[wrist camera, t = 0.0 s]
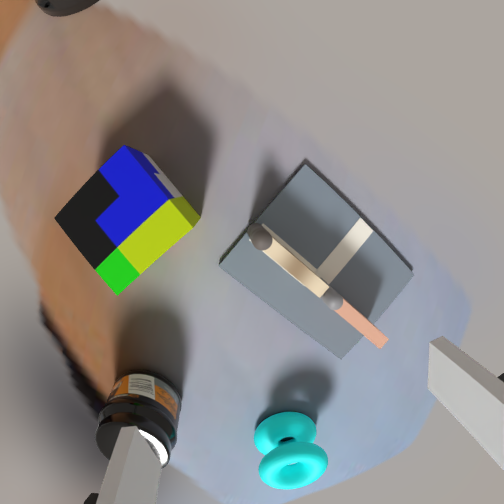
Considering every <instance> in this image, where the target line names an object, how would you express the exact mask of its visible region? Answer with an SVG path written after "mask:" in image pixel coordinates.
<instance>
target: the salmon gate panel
mask: <svg viewBox="0 0 504 504" xmlns="http://www.w3.org/2000/svg"><path fill="white" fill-rule="evenodd" d="M321 279H322V278H321ZM322 280H323V281H324V282H325V283H326V284H327V285H328V286H329V288H328V289H327V290H326V291H325V293H324V294H323V295H322V296H321V297H320V298H321V299H322V300H323V301H324V303H325V304H326V305H327V306H328V307H329V308H330V309H331V310H334V311H335V312H336V313H338V314H339V315H340V316H341V317H342V318H344V319H345V320H346V321H347V322H348V323H350V324H351V325H352V326H353V327H354V328H356V329H357V330H358V331H359V332H360V333H362V334H363V335H364V336H365V337H366V338H368V339H369V340H370V341H371V342H372V343H373V344H375V345H376V346H377V347H378V348H379V349H381V347H382V346H383V345H384V344H385V343H386V342H387V341H388V340H389V339H388V338H387V337H386V336H385V335H384V334H383V333H382V332H381V331H380V330H379V329H377V328H376V327H375V326H374V325H373V324H372V323H371V322H370V321H369V320H368V319H367V318H366V317H365V316H363V315H362V314H361V313H360V312H359V311H358V310H357V309H355V308H354V307H353V306H352V305H351V304H350V303H349V302H348V301H346V300H345V299H344V298H343V297H342V296H341V295H340V294H338V293H337V292H336V291H335V290H334V289H333V288H332V287H331V286H330V285H329V284H328V283H327V282H326V281H325V280H324V279H322Z"/></svg>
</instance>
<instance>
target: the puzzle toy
mask: <svg viewBox="0 0 504 504" xmlns="http://www.w3.org/2000/svg"><path fill="white" fill-rule="evenodd" d="M200 218H201V217H200V216H199V215H198V214H197V212H196V211H195V210H194V209H193V208H192V206H191V205H190V204H189V203H188V202H187V200H186V199H185V198H184V197H183V196H182V195H181V193H180V192H179V191H178V190H177V189H176V187H175V186H174V185H173V184H172V183H171V181H170V180H169V179H168V178H167V177H166V175H165V174H164V173H163V172H162V171H161V169H160V168H159V167H158V166H157V165H156V163H155V162H154V161H153V160H152V159H151V157H150V156H149V155H147V154H145V153H142V152H140V151H138V150H135V149H133V148H131V147H128V146H126V145H123V146H122V147H121V148H120V149H119V150H118V151H117V152H116V153H115V154H114V155H113V156H112V157H111V158H110V159H109V160H108V161H107V162H106V163H105V164H104V165H103V166H102V167H101V168H100V169H99V170H98V171H97V172H96V173H95V174H94V175H93V176H92V177H91V178H90V179H89V180H88V181H87V182H86V183H85V184H84V185H83V186H82V187H81V188H80V190H79V191H78V192H77V193H76V194H75V195H74V196H73V197H72V198H71V199H70V201H69V202H68V203H67V204H66V205H65V206H64V207H63V208H62V210H61V211H60V212H59V213H58V214H57V215H56V217H55V220H56V221H57V222H58V224H59V225H60V226H61V228H62V229H63V230H64V232H65V233H66V234H67V236H68V237H69V238H70V239H71V241H72V242H73V243H74V245H75V246H76V247H77V248H78V250H79V251H80V252H81V253H82V255H83V256H84V257H85V258H86V260H87V261H88V262H89V263H90V264H91V266H92V267H93V268H94V269H95V270H96V272H97V273H98V274H99V275H100V276H101V278H102V279H103V280H104V281H105V282H106V283H107V284H108V286H109V287H110V288H111V289H112V290H113V291H114V292H115V294H116V295H119V294H120V293H121V292H122V291H123V290H124V289H125V288H126V287H127V286H128V285H129V284H130V283H131V282H133V281H134V280H135V279H136V278H137V277H138V276H139V275H140V274H141V273H142V272H143V271H145V270H146V269H147V268H148V267H149V266H150V265H151V264H152V263H153V262H155V261H156V260H157V259H158V258H159V257H160V256H161V255H162V254H164V253H165V252H166V251H167V250H168V249H169V248H170V247H171V246H173V245H174V244H175V243H176V242H177V241H178V240H179V239H181V238H182V237H183V236H184V235H185V234H186V233H188V232H189V231H190V230H191V229H192V228H193V227H194V226H195V225H196V223H197V222H198V221H199V219H200Z"/></svg>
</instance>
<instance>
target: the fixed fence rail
mask: <svg viewBox="0 0 504 504" xmlns="http://www.w3.org/2000/svg"><path fill="white" fill-rule="evenodd" d="M247 234H248V236H249V238H250V240H251V242H252V244H253V246H254V247H255V248H256V249H258V250H261V251H264V252H265V253H266V254H267V255H268V256H270V257H271V258H272V259H273V260H274V261H276V262H277V263H278V264H279V265H281V266H282V267H283V268H284V269H285V270H287V271H288V272H289V273H290V274H291V275H293V276H294V277H295V278H296V279H297V280H299V281H300V282H301V283H302V284H303V285H305V286H306V287H307V288H308V289H309V290H311V291H312V292H313V293H314V294H315V295H317V296H318V297H319V298H320V297H321V296H322V295H323V294H324V293H325V291H326V290H327V289H328V288H329V286H328V285H327V284H326V283H325V282H324V281H323V280H322V279H321V278H320V277H319V276H318V275H316V274H315V273H314V272H313V271H312V270H311V269H310V268H309V267H307V266H306V265H305V264H304V263H303V262H302V261H300V260H299V259H298V258H297V257H296V256H295V255H293V254H292V253H291V252H290V251H289V250H288V249H286V248H285V247H284V246H283V245H282V244H280V243H279V242H278V241H277V240H276V239H275V238H273V237H272V236H271V234H270V233H269V232H268V231H267V230H266V229H265V228H264V227H263V226H262V225H261V224H259V223H253V224H251V225H250V226H249V227H248V229H247Z"/></svg>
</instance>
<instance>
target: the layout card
mask: <svg viewBox="0 0 504 504" xmlns="http://www.w3.org/2000/svg"><path fill="white" fill-rule="evenodd" d="M254 223H259V224H261V225H262V226H263V227H264V228H265V229H266V230H267V231H268V232H269V233H270V234H271V236H272V237H273V238H275V239H276V240H277V241H278V242H279V243H280V244H282V245H283V246H284V247H285V248H286V249H288V250H289V251H290V252H291V253H292V254H293V255H295V256H296V257H297V258H298V259H299V260H300V261H302V262H303V263H304V264H305V265H306V266H307V267H309V268H310V269H311V270H312V271H313V272H314V273H315V274H316V275H318V276H319V277H320V278H322V279H324V280H325V281H326V282H327V283H328V284H329V285H330V286H331V287H332V288H333V289H334V290H335V291H336V292H337V293H338V294H340V295H341V296H342V297H343V298H344V299H345V300H346V301H348V302H349V303H350V304H351V305H352V306H353V307H354V308H355V309H357V310H358V311H359V312H360V313H361V314H362V315H363V316H365V317H366V318H367V319H368V320H369V321H370V322H371V323H372V324H374V323H375V322H376V321H377V320H378V319H379V317H380V316H381V315H382V314H383V313H384V312H385V310H386V309H387V308H388V307H389V306H390V304H391V303H392V302H393V301H394V300H395V298H396V297H397V296H398V295H399V294H400V292H401V291H402V290H403V289H404V287H405V286H406V285H407V283H408V282H409V281H410V280H411V278H412V277H413V276H414V274H413V273H412V271H411V270H410V269H409V268H408V267H407V266H406V265H405V264H404V262H403V261H402V260H401V259H400V258H399V257H398V256H397V255H396V254H395V252H394V251H393V250H392V249H391V248H390V247H389V246H388V245H387V244H386V243H385V242H384V241H383V240H382V238H381V237H380V236H379V235H378V234H377V233H376V232H375V231H374V230H373V229H372V228H371V227H370V226H369V225H368V224H367V223H366V222H365V221H364V220H363V219H362V218H361V217H360V216H359V215H358V214H357V213H356V212H355V211H354V210H353V209H352V208H351V207H350V206H349V205H348V204H347V203H346V202H345V201H344V200H343V199H342V198H341V197H340V196H339V195H338V194H337V193H336V192H335V191H334V190H333V189H332V188H331V187H330V186H329V185H328V184H327V183H325V182H324V181H323V180H322V179H321V178H320V177H319V176H318V175H317V174H316V173H315V172H314V171H313V170H311V169H310V168H309V167H308V166H307V165H306V164H304V165H303V166H302V167H301V168H300V169H299V171H298V172H297V173H296V174H295V175H294V176H293V178H292V179H291V180H290V181H289V182H288V183H287V185H286V186H285V187H284V188H283V189H282V190H281V192H280V193H279V194H278V195H277V196H276V197H275V199H274V200H273V201H272V202H271V203H270V204H269V206H268V207H267V208H266V209H265V210H264V211H263V213H262V214H261V215H260V216H259V217H258V219H257V220H256V221H255V222H254ZM219 267H220V268H222V269H223V270H224V271H226V272H227V273H228V274H229V275H231V276H232V277H233V278H234V279H236V280H237V281H238V282H240V283H241V284H242V285H243V286H245V287H246V288H247V289H248V290H250V291H251V292H252V293H254V294H255V295H256V296H258V297H259V298H260V299H261V300H263V301H264V302H265V303H267V304H268V305H269V306H270V307H272V308H273V309H274V310H276V311H277V312H278V313H280V314H281V315H282V316H284V317H285V318H286V319H288V320H289V321H290V322H291V323H293V324H294V325H295V326H297V327H298V328H299V329H301V330H302V331H303V332H305V333H306V334H307V335H309V336H310V337H311V338H313V339H314V340H315V341H317V342H318V343H319V344H321V345H322V346H323V347H325V348H326V349H328V350H329V351H330V352H332V353H333V354H334V355H336V356H337V357H338V358H340V359H342V358H343V357H344V356H345V355H346V354H347V353H348V352H349V351H350V350H351V349H352V348H353V347H354V345H355V344H356V343H357V342H358V341H359V340H360V339H361V338H362V337H363V336H364V335H363V334H362V333H360V332H359V331H358V330H357V329H356V328H354V327H353V326H352V325H351V324H350V323H348V322H347V321H346V320H345V319H344V318H342V317H341V316H340V315H339V314H338V313H336V312H335V311H334V310H331V309H330V308H329V307H328V306H327V305H326V304H325V303H324V301H323V300H322V299H321V298H319V297H318V296H317V295H315V294H314V293H313V292H312V291H311V290H309V289H308V288H307V287H306V286H305V285H303V284H302V283H301V282H300V281H299V280H297V279H296V278H295V277H294V276H293V275H291V274H290V273H289V272H288V271H287V270H285V269H284V268H283V267H282V266H281V265H279V264H278V263H277V262H276V261H274V260H273V259H272V258H271V257H270V256H268V255H267V254H266V253H265V252H264V251H261V250H258V249H256V248H255V247H254V246H253V244H252V242H251V240H250V238H249V236H248V234H247V232H246V233H245V234H244V235H243V236H242V237H241V239H240V240H239V241H238V242H237V243H236V245H235V246H234V247H233V248H232V249H231V251H230V252H229V253H228V254H227V255H226V257H225V258H224V259H223V260H222V261H221V262H220V264H219Z"/></svg>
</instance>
